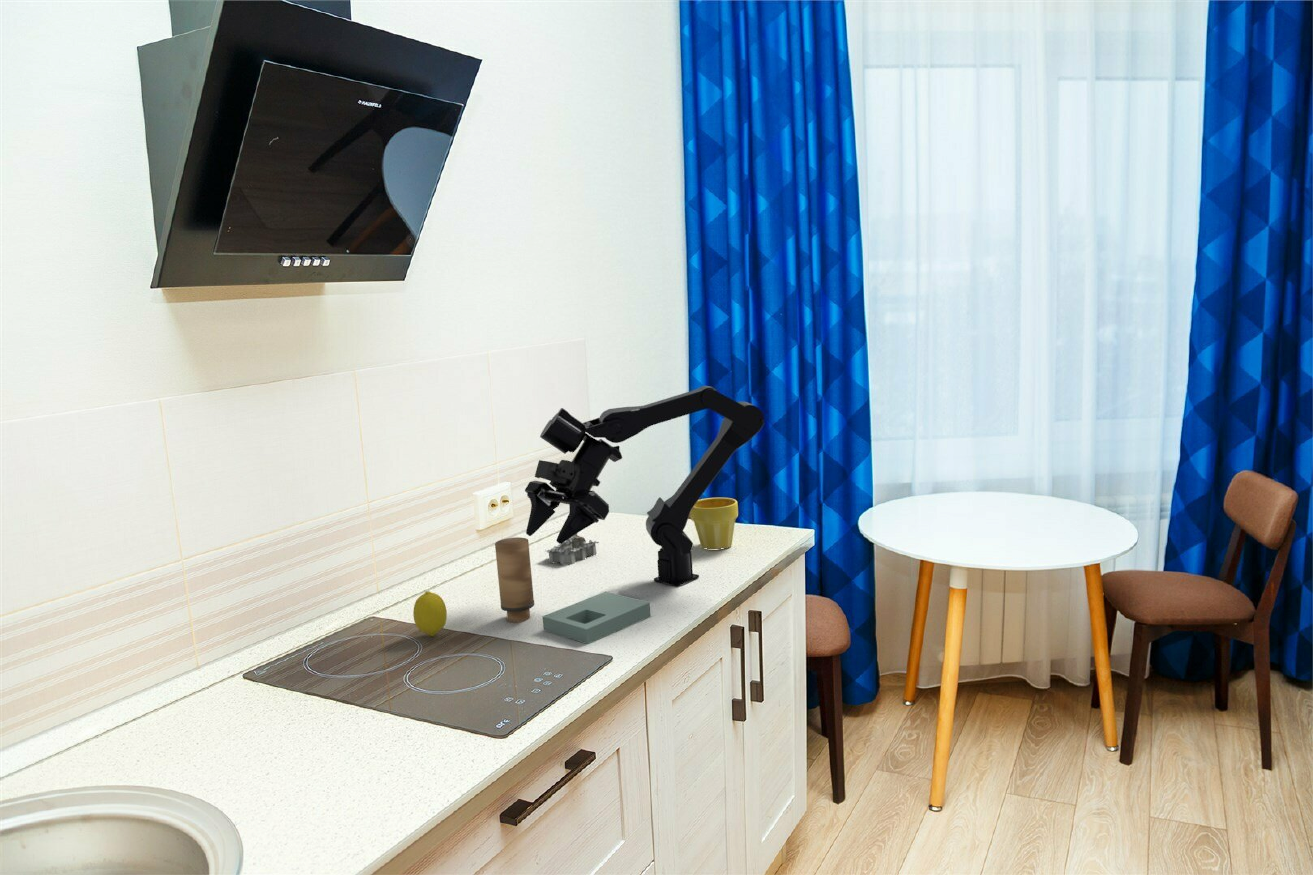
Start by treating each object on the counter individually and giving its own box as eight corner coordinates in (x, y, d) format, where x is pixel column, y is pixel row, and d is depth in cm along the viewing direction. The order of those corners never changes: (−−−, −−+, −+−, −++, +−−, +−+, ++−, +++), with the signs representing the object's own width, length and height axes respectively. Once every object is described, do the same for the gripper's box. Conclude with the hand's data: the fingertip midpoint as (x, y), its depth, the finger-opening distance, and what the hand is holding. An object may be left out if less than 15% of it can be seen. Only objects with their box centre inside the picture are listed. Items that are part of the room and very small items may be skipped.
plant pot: (689, 542, 209) (686, 499, 207) (735, 537, 210) (732, 495, 208) (696, 555, 198) (693, 510, 197) (744, 550, 199) (741, 505, 198)
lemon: (440, 642, 158) (435, 596, 157) (410, 642, 159) (405, 596, 158) (454, 630, 163) (449, 586, 162) (424, 629, 164) (419, 586, 163)
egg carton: (579, 550, 209) (577, 532, 209) (603, 554, 204) (601, 536, 204) (543, 562, 202) (541, 543, 201) (567, 567, 197) (565, 548, 196)
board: (606, 604, 171) (605, 591, 171) (650, 616, 164) (649, 602, 163) (543, 630, 160) (542, 616, 160) (587, 643, 153) (586, 629, 153)
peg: (521, 610, 171) (514, 535, 169) (542, 616, 167) (535, 540, 165) (495, 620, 167) (487, 543, 165) (516, 626, 163) (508, 548, 161)
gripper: (528, 438, 177) (484, 507, 172) (591, 446, 164) (545, 522, 158) (565, 472, 184) (523, 539, 178) (628, 482, 170) (585, 555, 165)
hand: (542, 538), depth 170 cm, fingers open, 9 cm apart
